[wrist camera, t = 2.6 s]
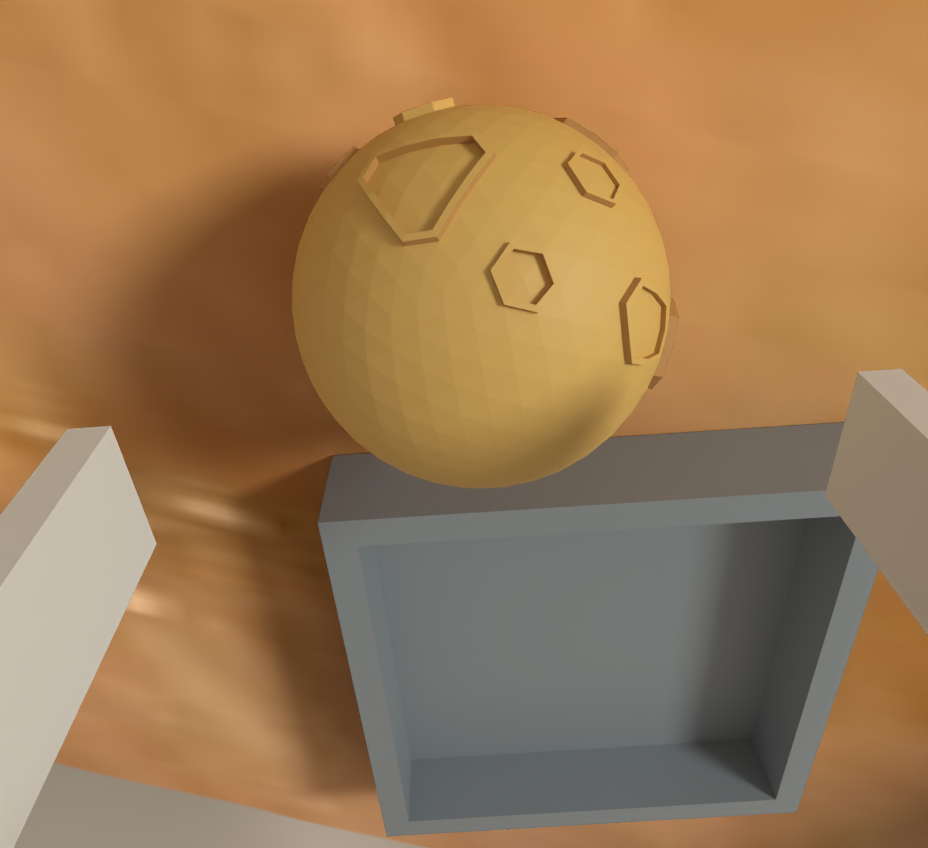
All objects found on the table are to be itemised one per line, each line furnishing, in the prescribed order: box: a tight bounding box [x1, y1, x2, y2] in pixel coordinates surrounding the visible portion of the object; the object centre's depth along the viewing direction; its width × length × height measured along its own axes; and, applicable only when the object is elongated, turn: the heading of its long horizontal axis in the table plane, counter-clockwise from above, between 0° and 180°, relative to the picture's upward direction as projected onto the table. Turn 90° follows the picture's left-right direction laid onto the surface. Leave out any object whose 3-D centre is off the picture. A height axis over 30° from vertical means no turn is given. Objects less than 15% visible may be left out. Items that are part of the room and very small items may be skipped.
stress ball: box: [292, 98, 678, 488], centre depth 19 cm, size 10×10×10 cm
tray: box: [318, 422, 879, 836], centre depth 32 cm, size 20×20×4 cm
